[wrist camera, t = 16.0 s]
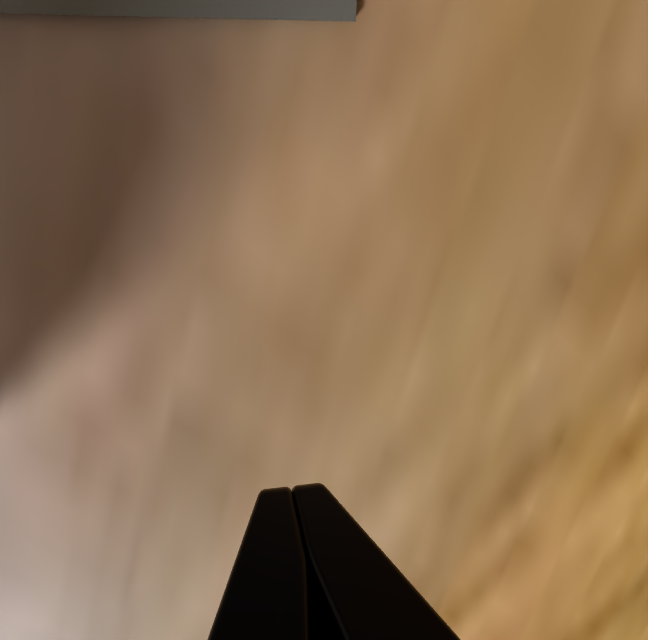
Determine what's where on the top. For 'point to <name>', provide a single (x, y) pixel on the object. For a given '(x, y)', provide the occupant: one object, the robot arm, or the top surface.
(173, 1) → the mat
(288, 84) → the top surface
